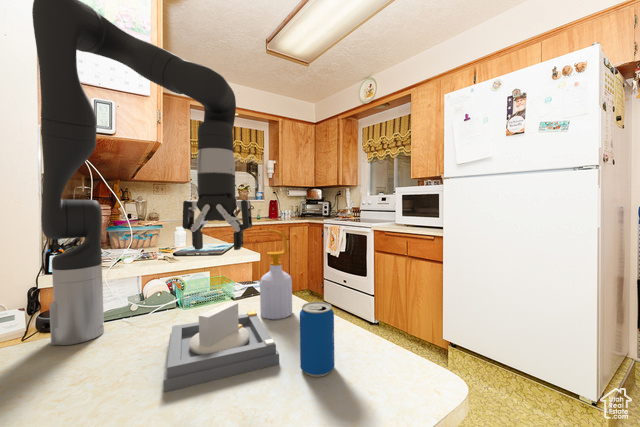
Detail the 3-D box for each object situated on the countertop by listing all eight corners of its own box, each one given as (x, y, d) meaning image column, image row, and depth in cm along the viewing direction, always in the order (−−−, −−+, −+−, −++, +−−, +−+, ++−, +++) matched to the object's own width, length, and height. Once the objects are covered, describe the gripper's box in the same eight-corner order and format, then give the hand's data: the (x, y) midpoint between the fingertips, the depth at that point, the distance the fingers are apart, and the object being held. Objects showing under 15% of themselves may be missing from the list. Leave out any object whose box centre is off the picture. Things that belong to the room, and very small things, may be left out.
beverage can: (331, 381, 51) (330, 313, 51) (296, 377, 53) (295, 311, 52) (336, 361, 58) (336, 301, 57) (305, 358, 59) (304, 300, 59)
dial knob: (222, 361, 54) (221, 323, 54) (176, 349, 59) (175, 315, 59) (260, 334, 65) (260, 303, 65) (219, 326, 70) (218, 297, 70)
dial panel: (164, 392, 49) (163, 366, 49) (170, 342, 67) (169, 323, 67) (279, 363, 57) (278, 342, 57) (256, 326, 75) (256, 309, 75)
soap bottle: (259, 310, 87) (257, 228, 86) (289, 307, 89) (287, 227, 89) (262, 322, 78) (260, 230, 77) (295, 317, 81) (294, 229, 80)
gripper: (173, 171, 58) (175, 252, 59) (243, 169, 57) (244, 252, 57) (193, 175, 66) (195, 246, 66) (255, 174, 64) (256, 247, 65)
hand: (218, 249), depth 62 cm, fingers open, 8 cm apart
